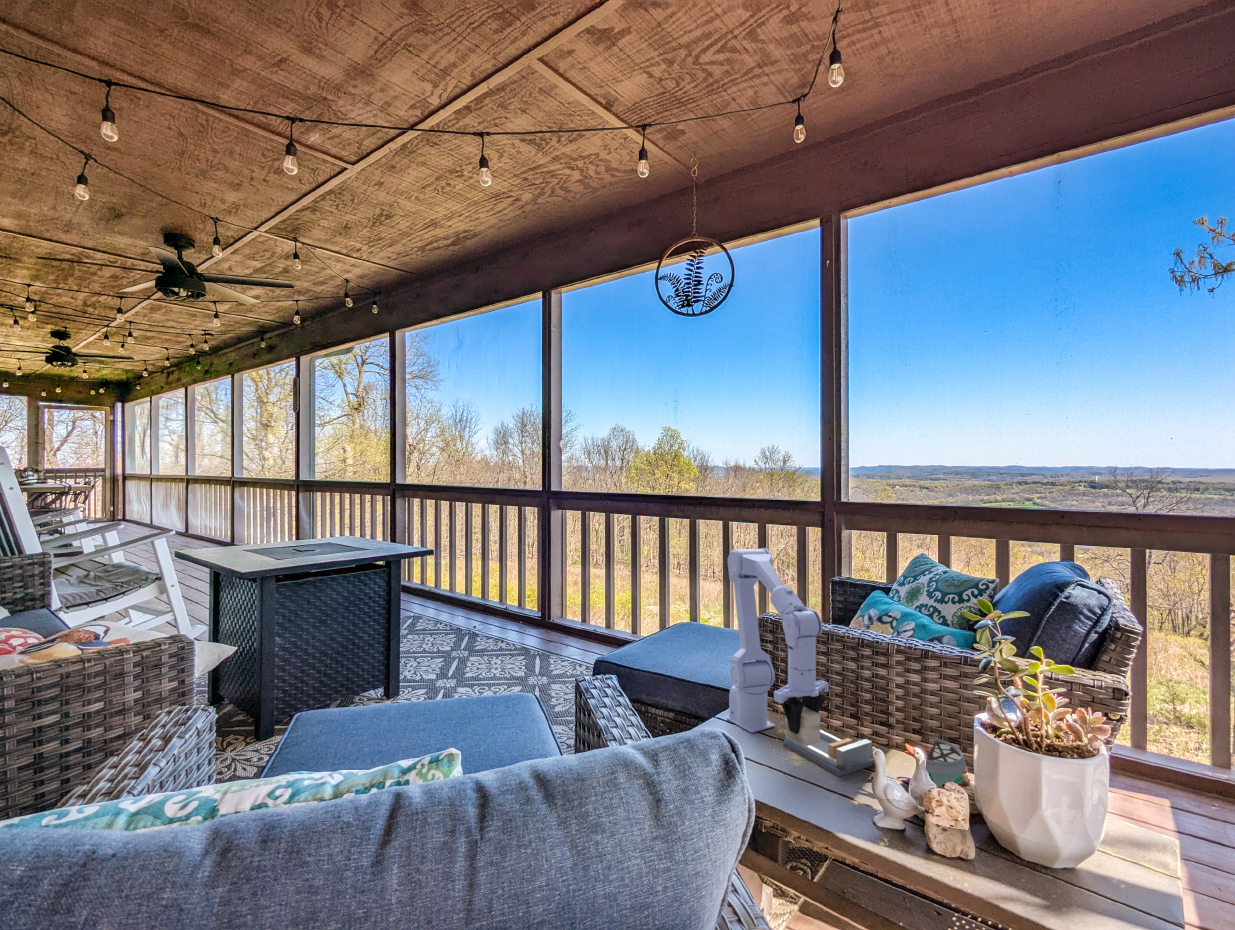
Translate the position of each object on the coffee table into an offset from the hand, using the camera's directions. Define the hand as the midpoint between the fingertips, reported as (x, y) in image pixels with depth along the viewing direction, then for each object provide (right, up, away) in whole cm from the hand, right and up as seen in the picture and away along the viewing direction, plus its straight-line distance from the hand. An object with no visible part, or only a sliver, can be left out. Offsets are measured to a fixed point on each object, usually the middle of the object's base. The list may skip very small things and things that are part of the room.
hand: (801, 729), depth 123 cm
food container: (+23, -8, -15) cm, 28 cm away
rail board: (+7, -8, +5) cm, 12 cm away
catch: (+9, -7, +2) cm, 11 cm away
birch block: (0, -2, 0) cm, 2 cm away
